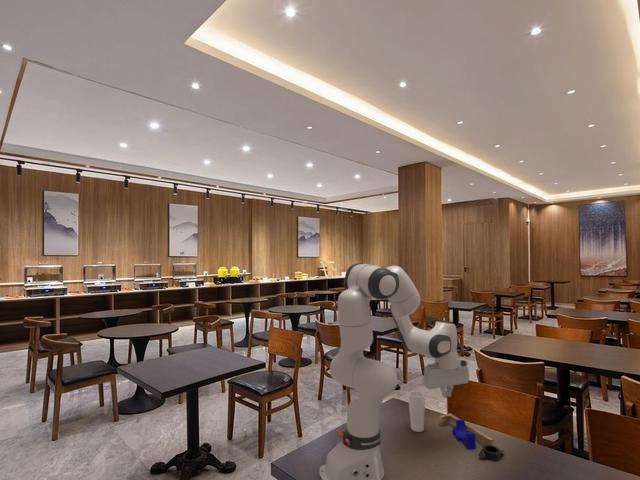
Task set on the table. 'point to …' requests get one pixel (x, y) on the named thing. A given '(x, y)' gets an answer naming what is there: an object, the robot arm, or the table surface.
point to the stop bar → (479, 436)
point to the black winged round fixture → (490, 453)
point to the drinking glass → (417, 410)
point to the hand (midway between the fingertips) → (446, 396)
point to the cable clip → (464, 435)
